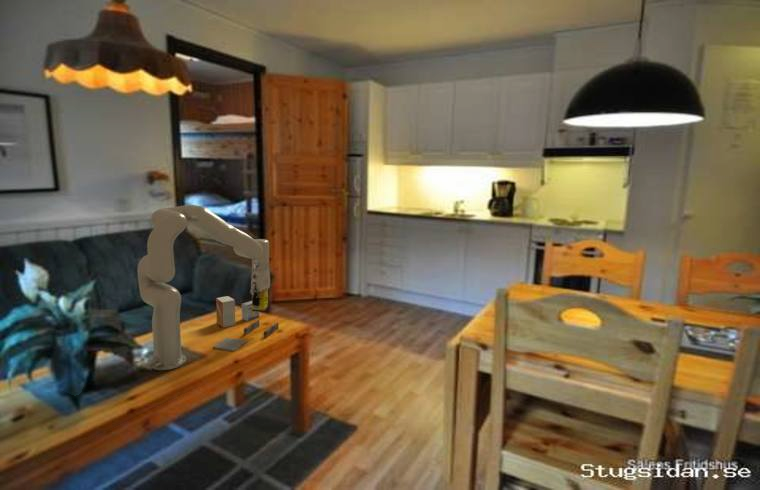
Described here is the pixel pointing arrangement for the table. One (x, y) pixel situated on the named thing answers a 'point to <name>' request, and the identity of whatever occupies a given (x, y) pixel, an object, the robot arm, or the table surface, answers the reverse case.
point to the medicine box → (248, 312)
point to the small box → (225, 311)
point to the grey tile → (230, 344)
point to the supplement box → (262, 301)
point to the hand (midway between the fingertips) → (260, 302)
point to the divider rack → (256, 324)
